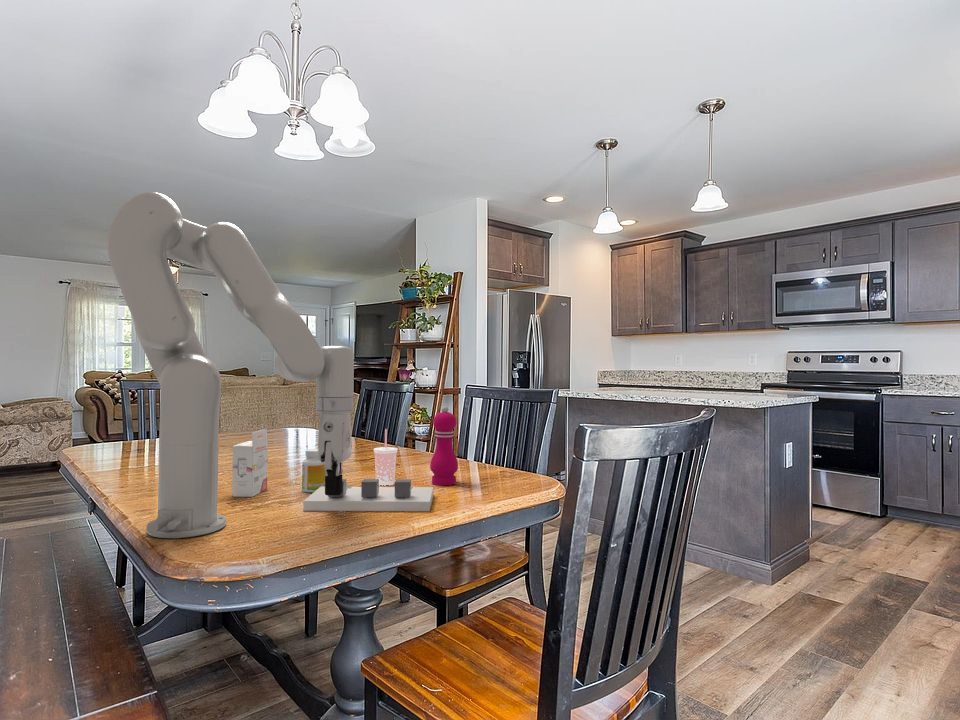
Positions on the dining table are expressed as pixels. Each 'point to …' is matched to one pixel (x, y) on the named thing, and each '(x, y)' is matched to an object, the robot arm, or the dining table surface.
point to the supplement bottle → (312, 472)
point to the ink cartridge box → (250, 466)
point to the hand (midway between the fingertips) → (333, 494)
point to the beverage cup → (385, 463)
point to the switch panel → (370, 500)
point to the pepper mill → (444, 449)
